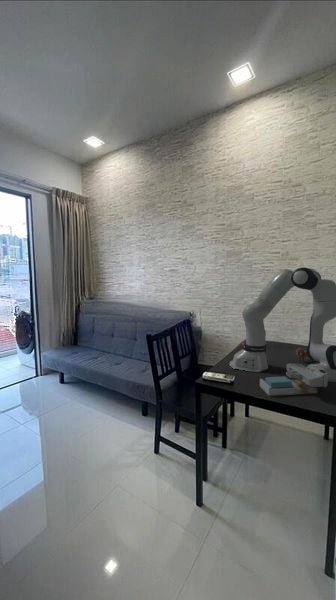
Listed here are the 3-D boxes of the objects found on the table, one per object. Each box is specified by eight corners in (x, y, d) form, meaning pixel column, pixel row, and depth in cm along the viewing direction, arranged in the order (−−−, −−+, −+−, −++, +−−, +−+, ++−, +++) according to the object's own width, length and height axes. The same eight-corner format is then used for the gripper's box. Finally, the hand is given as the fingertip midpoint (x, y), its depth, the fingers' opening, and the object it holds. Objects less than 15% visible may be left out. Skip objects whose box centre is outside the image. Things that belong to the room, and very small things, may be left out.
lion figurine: (300, 364, 155) (301, 350, 155) (293, 361, 160) (293, 348, 159) (316, 360, 162) (316, 346, 161) (308, 358, 166) (309, 344, 166)
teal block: (284, 376, 125) (265, 377, 124) (291, 381, 119) (271, 382, 118) (284, 386, 125) (265, 387, 124) (291, 391, 119) (271, 392, 119)
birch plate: (304, 383, 128) (304, 379, 128) (317, 393, 118) (317, 387, 118) (283, 385, 127) (283, 380, 127) (294, 394, 118) (295, 389, 117)
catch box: (283, 385, 127) (283, 377, 127) (294, 394, 118) (294, 386, 117) (259, 386, 127) (259, 378, 126) (269, 395, 117) (269, 387, 116)
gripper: (302, 359, 133) (277, 361, 132) (330, 375, 112) (300, 376, 111) (301, 371, 133) (276, 372, 132) (329, 388, 113) (300, 390, 112)
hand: (287, 374), depth 122 cm, fingers closed
